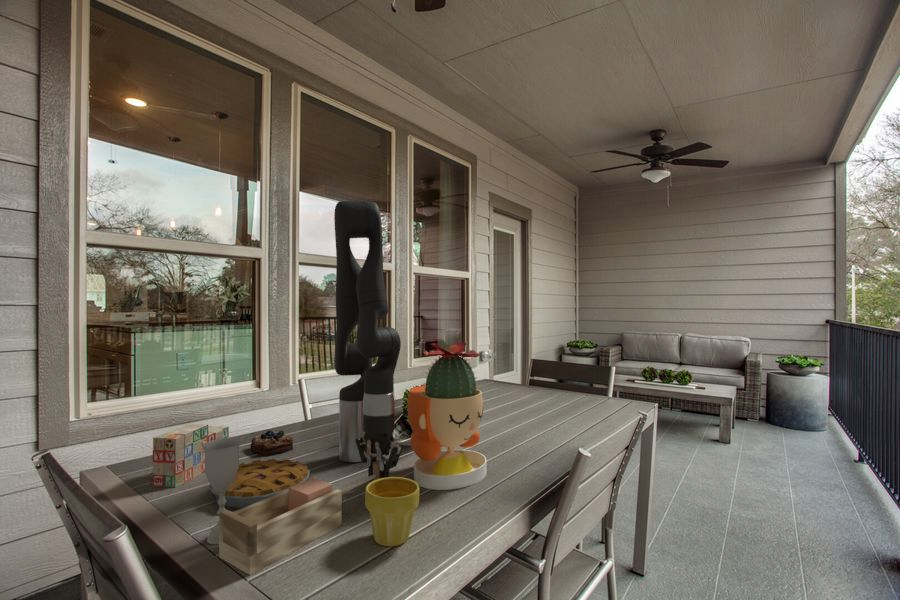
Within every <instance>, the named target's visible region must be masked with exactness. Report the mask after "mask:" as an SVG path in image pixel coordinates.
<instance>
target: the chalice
mask: <svg viewBox="0 0 900 600" xmlns="http://www.w3.org/2000/svg"><path fill="white" fill-rule="evenodd" d="M242 442H243V440H242V439H241V438H239V437H229V438H221V439H216V440H212V441H209V442H206V443H204V444H203V445H202V448H203V450H204V451H205V471H204V473H205V476H206V479H207V481H208V484H209V485H211V487H212V489H213V490H214V492H217V493H219V496H220V497H219V501H218V500H217V504H218V506H219V507H218V508H219V509H218V510H217V512H216V514H217V515H219V512H221V511H223V510H227V509H226V507H225V506H226V505H225V503H226V500H225V496H224V495H225V491H227V490H229V489H230V487H231V485H232V483H233V481H234V479H235V476H236V474H237V471H238V468H239V464H240V446H241V443H242ZM206 542H207V543H208V544H210V545H219V521H218V522H217V523H215V524H214V525H213V526H212V527H211V529H210V532H209V535H208V537H207V539H206Z"/></svg>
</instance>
